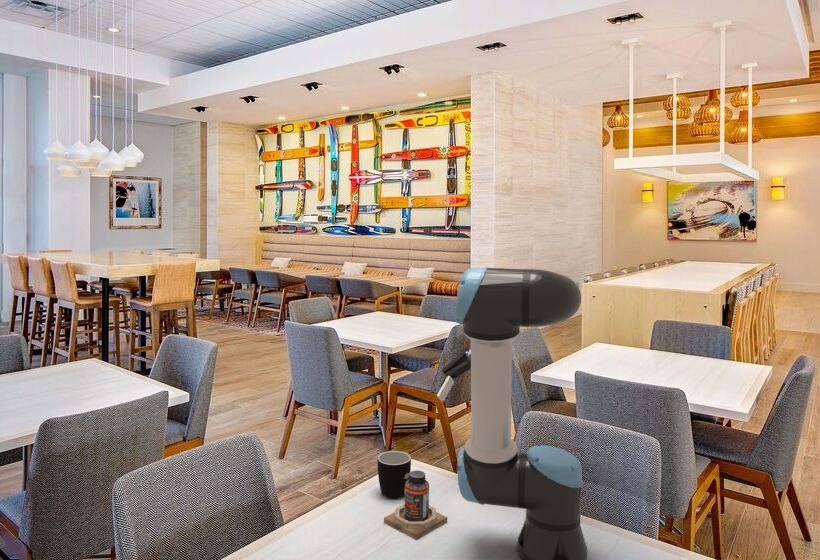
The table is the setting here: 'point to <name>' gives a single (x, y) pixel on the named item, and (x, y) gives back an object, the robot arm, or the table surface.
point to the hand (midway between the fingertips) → (459, 404)
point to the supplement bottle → (416, 497)
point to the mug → (393, 473)
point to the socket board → (415, 528)
